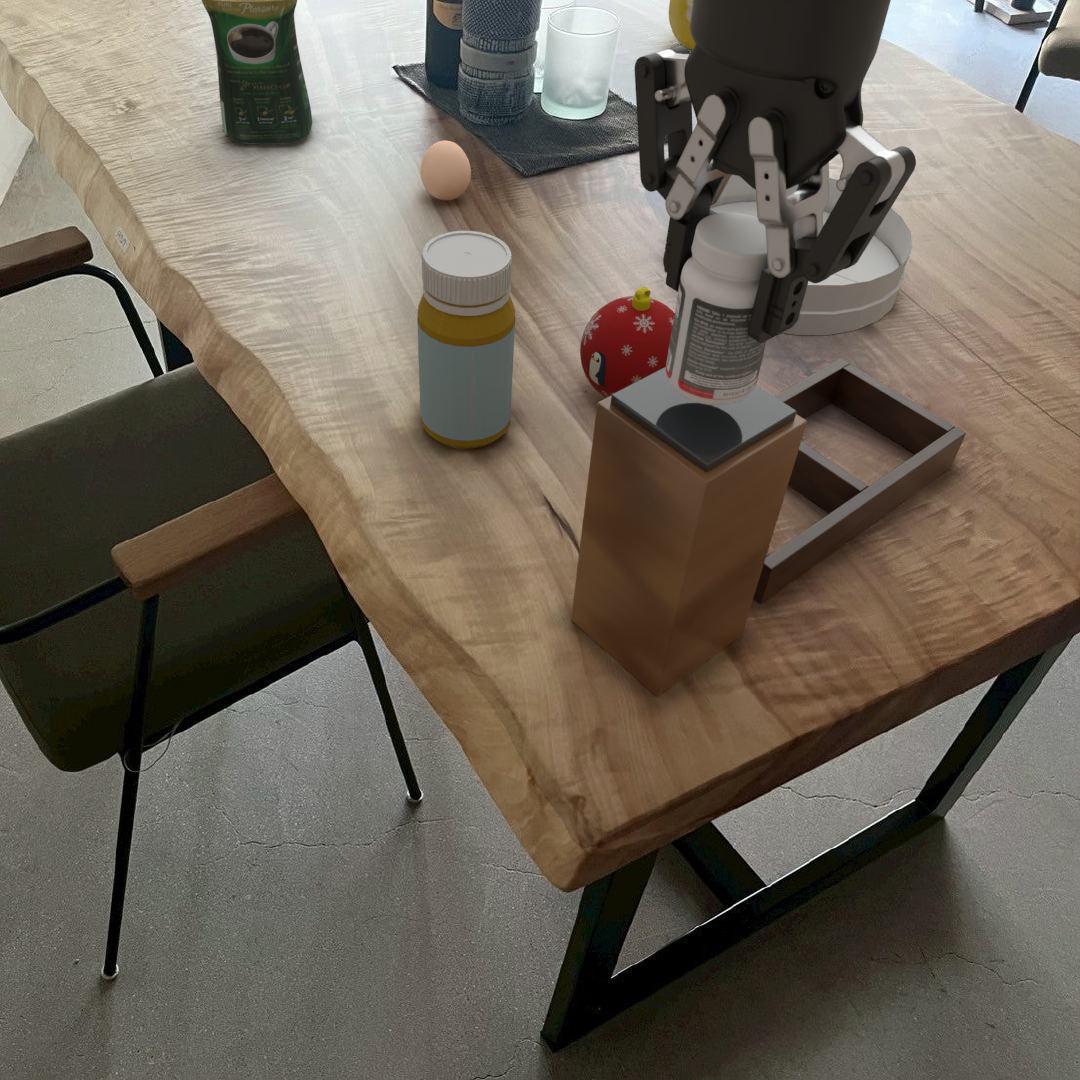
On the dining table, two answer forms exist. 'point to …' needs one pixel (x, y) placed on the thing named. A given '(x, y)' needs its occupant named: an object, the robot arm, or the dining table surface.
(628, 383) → the christmas ornament
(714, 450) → the coaster
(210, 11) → the coffee jar
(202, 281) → the dining table surface
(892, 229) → the dish
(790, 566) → the rack
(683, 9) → the fruit
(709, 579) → the riser
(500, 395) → the bottle
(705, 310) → the pill bottle
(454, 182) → the egg
